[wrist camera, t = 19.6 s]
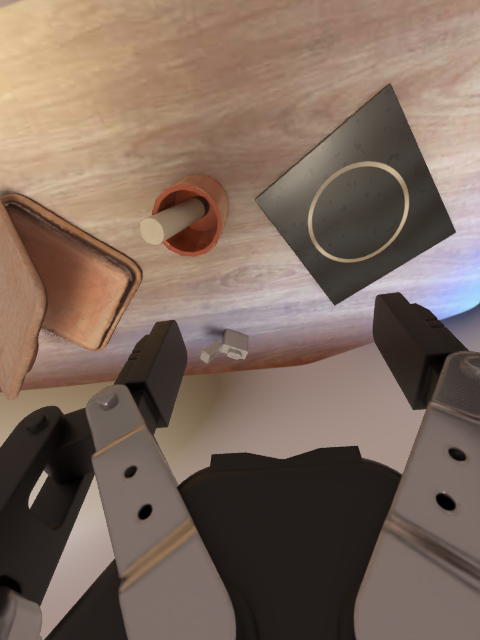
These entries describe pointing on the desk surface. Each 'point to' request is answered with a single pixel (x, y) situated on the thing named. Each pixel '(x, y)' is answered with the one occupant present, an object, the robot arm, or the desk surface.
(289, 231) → the black flat square pad
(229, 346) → the lighter
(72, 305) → the case
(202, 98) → the desk surface
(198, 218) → the cylinder
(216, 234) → the pen cup
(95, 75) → the desk surface
